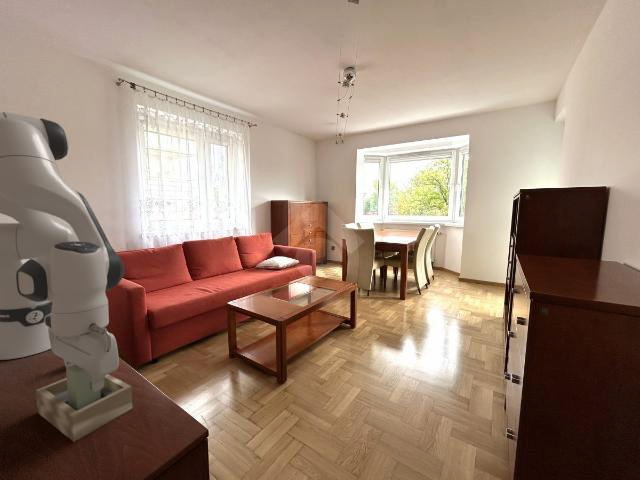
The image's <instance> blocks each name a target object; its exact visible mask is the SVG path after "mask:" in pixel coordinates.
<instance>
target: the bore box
mask: <svg viewBox="0 0 640 480" xmlns="http://www.w3.org/2000/svg"><path fill="white" fill-rule="evenodd" d="M100 390H101V399H100V400H98V401H96V402H94V403H92V404H90V405H88V406H86V407H84V408H82V409H80V410H78V411H76V410H74V409H73V408H72V407H70V406H69V405H68V389H67V377H65V378H63V379H60V380H57V381H55V382H53V383H50V384H48V385H46V386H43V387H41V388H38V389H36V390H35V393H36V407H37V408H36V409H37V414H38V415H40V416H41V417H42V418H44V419H45V420H46V421H47V422H49V423H50V424H51V425H52V426H53V427H55V428H56V429H57V430H59V431H60V432H61V433H62V434H63V435H64V436H66V437H67V438H68V439H70V441H72V442H73V443H75V442H77V441H78V440H80V439H82V438H84V437H85V436H87V435H88V434H90V433H92V432H94V431H95V430H97V429H99V428H101V427H103V426H104V425H106V424H108V423H109V422H112V421H114V420H115V419H117V418H119V417H120V416H122V415H124V414H125V413H127V412H128V411H130V410H132V409H133V387H132V385H130V384H128V383H126V382H125V381H122V380H121V379H119V378H116V377H114V376H113V375H110V373H109V374H107V375H106V376H105V378H104V387H103V388H102V389H100ZM76 440H77V441H76Z"/></svg>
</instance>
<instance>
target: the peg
mask: <svg viewBox="0 0 640 480" xmlns="http://www.w3.org/2000/svg"><path fill="white" fill-rule="evenodd" d="M65 368H66V367H65ZM66 378H67V389H68V405H69V406H70V407H72V408H73V409H74V410H76V411H78V410H80V409H82V408H84V407H86V406H88V405H90V404H92V403H94V402H96V401H98V400H100V399H101V390H98V391H96V392H94V391H92V390H91V389H90V382H91V381H92V378H93V377H92V376H91V373H89V372H87V371H85V370H83V369H81V368H79V367H78V366H76V365H73V366H70V367H68V368H66Z"/></svg>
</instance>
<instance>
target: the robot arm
mask: <svg viewBox="0 0 640 480" xmlns="http://www.w3.org/2000/svg"><path fill="white" fill-rule="evenodd" d="M69 142H70V141H69V137H68V136H67V134H66V132H65V130H64V128H63V127H62V126H61V125H60V124H59V123H57V122H55V121H53V120H49V119H45V118H40V119H39V118H35V117H31V116H27V115H23V114H22V115H21V114H17V113H11V112H7V111H2V112H0V214H1V215H5V216H8V217H10V218H12V219H13V220H15V221H17V222H18V223H14V222H13V223H11V222H10V223H8V222H7V223H5V222H4V223H3V222H0V360H1V361H3V360H12V359H14V360H15V359H19V358H24V357H29V356H32V355H37V354H40V353H43V352H46V351H48V350H51V351H52V353H53V354H54V355H56V356H57V357H59V358H61V359H63V363H64V365H65V368H68V367H70V366H73V365H76V366H78V367H79V368H81V369H83V370H85V371H87V372H89V373H91V376H92V377H93V378H92V381H91V382H90V389H91V390H92V391H94V392H96V391H98V390H100V389H102V388H103V387H104V378H105V376H106V375H107V374H109V375H110V374H111V373H113V372H115V371H117V369H118V368H119V365H120V360H119V359H120V358H119V351H118V343H117V340H116V339H117V338H116V337H115V336H114V334H113V333H111V332H109V331H108V329H107V326H108V325H109V322H110V317H109V315H110V314H109V310H110V309H109V299H108V296H107V294H106V291H112V290H113V289H114V288H116V287H117V286H118V285H119V284H120V282H121V281H122V280H123V278H124V276H125V273H126V270H125V264H124V261H123V260H122V258H121V257H120V256H119V254H118V253H117V252H116V250H115V249H114V248H113V246H112V245H111V243H110V241H109V239H108V237H107V236H106V233H105V231H104V229H103V228H102V226H101V224H100V222H99V220H98V218H97V217H96V215H95V213H94V210H93V208H92V207H91V205H90V203H89V202H88V200H87V199H86V197H85V196H84V195H83V193H81V192H80V191H79V192H78V191H77V190H76V189H74V188H73V187H71V185H70V184H69V183H68V182H67V181H66V179H64V177H63V176H62V174H61V172H60V171H59V168H58V165H57V161H59V160H62V159H64V158H65V157H67V155H68V151H69V148H70V143H69ZM58 218H59V219H61V220H62V221H64V222H66V223H67V224H66V223H64V222H62V221H61V220H59V219H58ZM22 260H27V261H26V262H24V263H23V262H22Z"/></svg>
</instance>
